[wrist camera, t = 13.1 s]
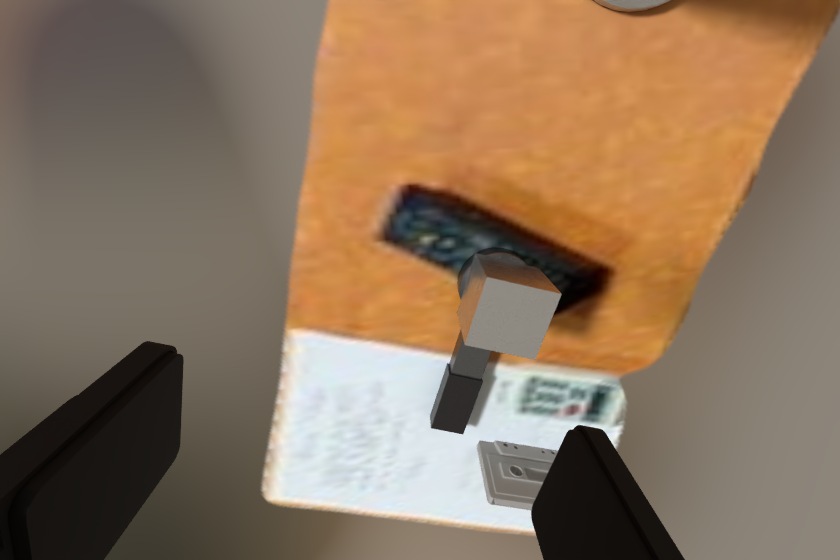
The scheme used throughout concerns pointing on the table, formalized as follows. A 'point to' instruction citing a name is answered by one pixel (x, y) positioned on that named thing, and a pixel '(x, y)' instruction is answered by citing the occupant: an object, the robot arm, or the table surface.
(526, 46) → the table surface
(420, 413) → the table surface
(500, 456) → the cassette
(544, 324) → the grey block
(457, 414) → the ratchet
